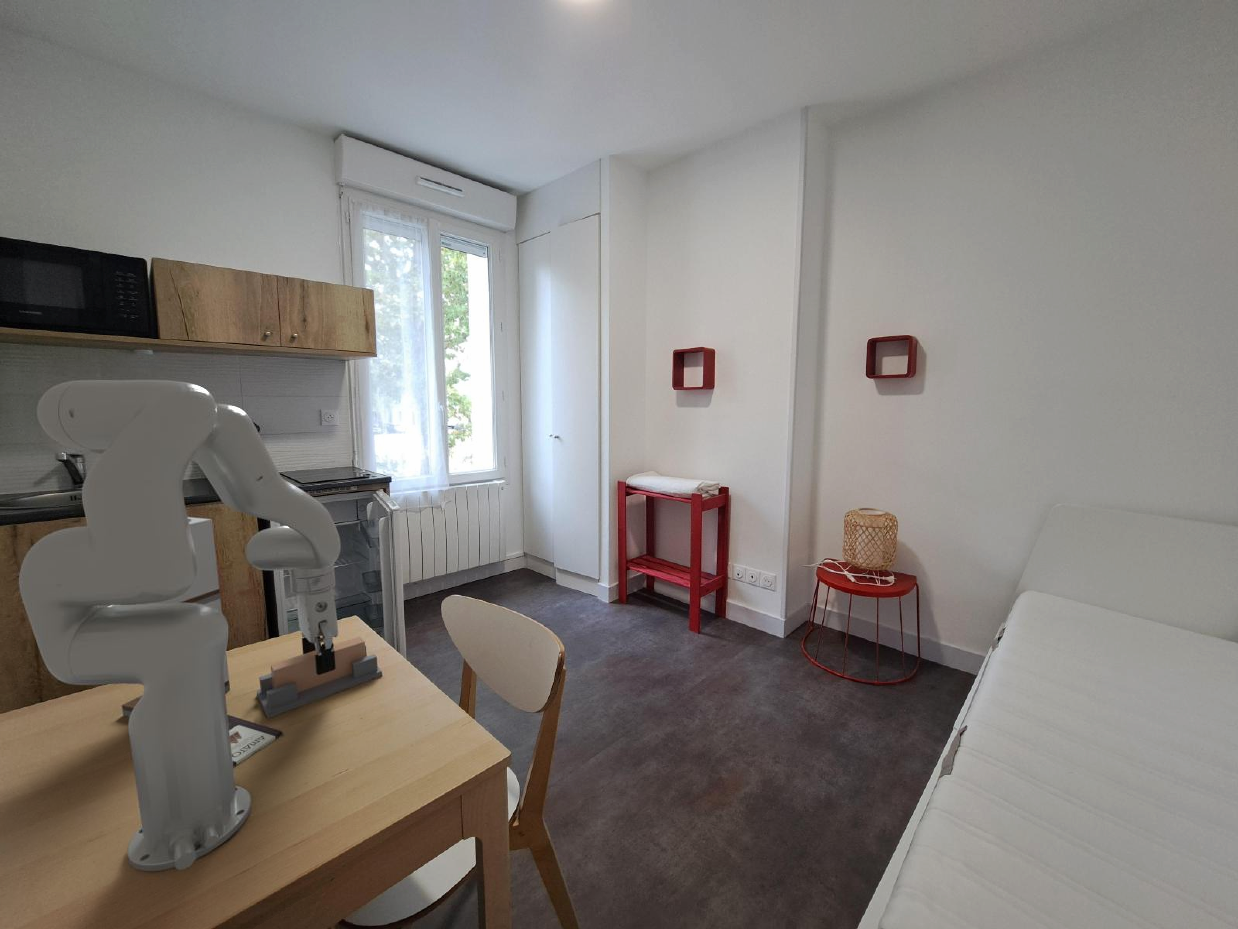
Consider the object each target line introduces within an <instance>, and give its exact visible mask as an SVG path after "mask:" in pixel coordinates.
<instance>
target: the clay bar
mask: <svg viewBox="0 0 1238 929" xmlns="http://www.w3.org/2000/svg"><path fill="white" fill-rule="evenodd" d="M365 645H366V642H365V640H364V639H363V638H362V637H361V636H358V637H355V638H351V639H347V640H345V641H342V642H338V643H336V644H334V652H335V667H336V668H335V670H333V671H330V672H327V673H324V674H321V675H317V673H316V661H315V655H317V652H316V651H313V652H309V653H306V654H303V653H302V654H300V655H297V656H293V657H291V658H287V659H284V660H281V661H278V662H275V663H271V664H270V671H271V673H270V674H272V685H273V689H274V688H277V687H280V686H283V685H286V684H289V683H292V682H295V683H296V684H297V693H298V692H301V691H304V690H307V689H309V688H312V687H315V686H318V685H321V684H323V683H326V682H329V681H332V680H335V679H338V678H340V677H343V676H346V675H349V674H352V666H351V662H353V661H356V660H359V659H362V658H364V657H366V654H367V653H366V654H365Z"/></svg>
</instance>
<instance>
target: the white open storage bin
mask: <svg viewBox="0 0 1238 929" xmlns="http://www.w3.org/2000/svg"><path fill="white" fill-rule="evenodd" d="M187 517H188V521H189V526H190V530H191V535H192V539H193V543H194V548H195V552H196V558H197V577H196V580H195V582H194V584H193V585H192V587H191V588H190V589H189V590H188V591H187V592H186V593H184V594H182V595H180V596H178V597H176V598H174V599H170V600H166V601H162V602H156V603H197V604H204V605H208V606H211V607H213V608H215V609H217V610H219V611H220V612H221V613H222V614H223V612H222V610H223V609H222V603H221V594H220V593H221V591H220V583H219V574H218V573H219V571H218V562H217V555H216V554H217V553H216V546H215V536H214V528H213V527H214V526H213V520H212V519H211V518H202V517H191V516H187ZM146 604H154V603H146ZM127 605H141V604H127ZM229 677H230V676H229V666H228V657H227V654H226V655H225V666H224V684H225V693H227V692H229V691H230V690H231V688H230V686H231V685H230V678H229ZM226 691H227V692H226ZM141 697H142V695H140V696H138V697H136V698H134V699H131V700H130V701H128V702H126V703H123V704H122V705H121V709H122V716H123V715H124V716H125V717H127V716H128V718H130V715H131V713H132V711H133V709H134V707H135V706H136V704H137V703H138V701H139V700H140V699H141ZM124 716H123V717H124Z"/></svg>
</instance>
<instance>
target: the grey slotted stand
mask: <svg viewBox="0 0 1238 929" xmlns="http://www.w3.org/2000/svg"><path fill="white" fill-rule="evenodd" d="M366 645H367V644H365V654H366V657H364V658H362V659H359V660H356V661H353V662H351V666H352V674H349V675H346V676H343V677H340V678H338V679H335V680H332V681H329V682H326V683H323V684H321V685H318V686H315V687H312V688H309V689H307V690H304V691H301V692H298V693H297V684H296V683H295V682H292V683H289V684H286V685H283V686H280V687H277V688H274V689H273V685H272V674H271V673H269V674H266V675H265V674H264V675H263V676H259V677H258V678H259V687H260V689H257V690H256V696H257V698H258V700H259V703H260V705H261V707H262V709H263V711H264V713H265V716H266V717H267V719H270V718H273V717H276V716H279V715H280V714H283V713H285V712H288V711H291V710H294V709H297V708H300V707H303V706H304V705H307V704H310V703H313V702H316V701H318V700H321V699H323V698H326V697H329V696H331V695H335V694H336V692H337V693H339V692H342V691H345V690H348V689H350V688H353V687H354V686H357V685H360V684H363V683H365V682H368V681H371V680H374V679H377V678H380V677H381V676H383V670H381V668H380V667H378V666H379V665H378V657H377V655H376V654H375V653H373V654H371V655H367V646H366ZM373 678H374V679H373Z"/></svg>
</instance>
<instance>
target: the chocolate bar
mask: <svg viewBox="0 0 1238 929" xmlns="http://www.w3.org/2000/svg"><path fill="white" fill-rule="evenodd" d="M227 715H228V724H229V733H230V742H231V752H232V761H233V768H234V767H236V766H238V764H240V763H241V762H243V761H245V760H246V759H248V758H249V757H251V756H253V755H254V754H255V753H257V752H258V751H260V750H262V749H263V748H265V747H266V746H268V745H269V744H271V743H272V742H274V741H275V740H277V739H278V738H279V737H281V736H283V734H284V731H283V730H279V729H275V728H273V727H269V726H265V725H263V724H259V723H256V722H252V721H249V720H246V719H243V718H241V717H240V718H239V717H236V716H233V715H230V714H227Z"/></svg>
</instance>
